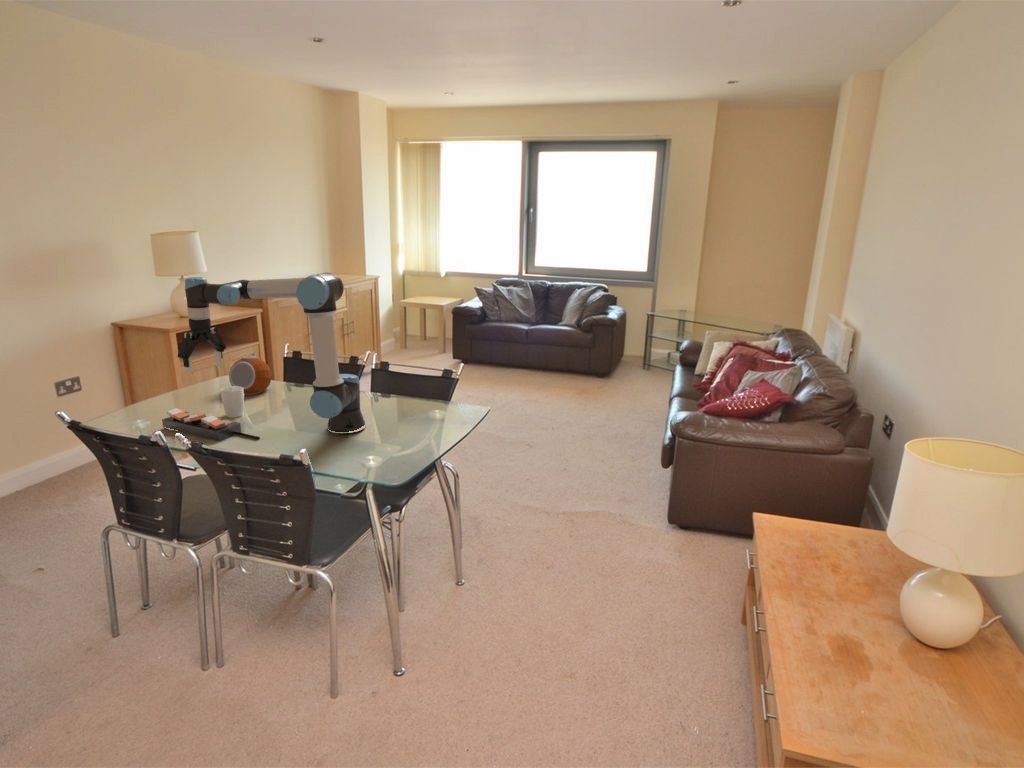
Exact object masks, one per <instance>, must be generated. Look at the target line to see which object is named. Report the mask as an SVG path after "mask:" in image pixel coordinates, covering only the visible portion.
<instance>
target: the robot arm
mask: <svg viewBox="0 0 1024 768" xmlns="http://www.w3.org/2000/svg"><path fill="white" fill-rule="evenodd" d="M344 290H345V289H344V283H343V280H342V278H340V277H339V276H338V275H337V274H335V273H333V272H323V273H317V274H311V275H307V276H306V277H297V278H296V277H294V278H275V279H274V278H272V279H268V278H267V279H251V280H249V279H239V280H236V281H231V282H225V283H221V284H220V283H210V282H209V283H208V280H207V278H206V277H202V276H189V277H187V278H185V279H184V291H185V298H186V308H187V309H186V310H187V317H188V327H189V329H190V331H189V332H182V340H181V344H180V347H179V349H178V354H177V358H178V359H182V362H183V367H184V368H185V375H188V376H193V375H194V374H193V373H194V371H193V364H192V362H193V361H192V358H190V357H191V356H192V354H193V352H194V350H195V348H196V346H197V345H198V344H200V343H202V342H208V344H210V345H211V347H213V349H215V350H214V359H215V360H214V361H215V368H219V369H221V368H223V361H222V359H223V356H224V355H223V353H224V352H225V350H226V349H227V346H226V344H225V342H224V339H223V338H222V337H221V335H220V334H219V330H218V327H213V326H212V323H211V322H212V321H211V318H210V317H211V311H210V310H211V309H210V304H212V305H213V304H214V305H224V306H234V305H237V304H238V302H239V301H245V300H246V301H247V300H266V299H270V300H271V299H294V298H295V299H296V300H297V302H298V303H299V304H300V305H301V307H303V314H305V315H306V316H307V317H308V320H309V330H310V336H311V337H310V338H311V346H312V352H313V353H312V354H313V363H314V370H315V380H314V381H313V382H312V387H313V388H312V389H313V394H312V395H311V396H310V398H309V406H310V408H311V410H312V411H313V413H314V414H315V415H316V416H317V417H320V418H324V419H328V422H327V430H328V429H329V430H331V431H335V432H349V431H354V430H357V429H359V428H361V427H362V426H364V425H365V426H366V421H365V419H364V416H363V413H362V411H361V392H360V390H361V389H360V387H361V386H360V383H361V382H360V378H359V376H357V374H351V373H340V370H339V359H338V352H337V341H336V334H335V324H334V323H335V322H334V314H335V313H336V312H337V303H336V302H337V301H339V300H340V299H341V297H343V294H344ZM212 336H213V337H212Z"/></svg>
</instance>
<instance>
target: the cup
mask: <svg viewBox="0 0 1024 768" xmlns="http://www.w3.org/2000/svg"><path fill="white" fill-rule="evenodd" d="M220 397H221V401H222V405H223V408H224V413H225V416H226V417H227V418H230V419H231V418H239V417H242V416H243V414H244V405H245V403H244V401H245V394H244V391H243V387H241V386H232V385H230V386H228V385H227V386H224V387H223V388H222V387H221V388H220Z"/></svg>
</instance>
